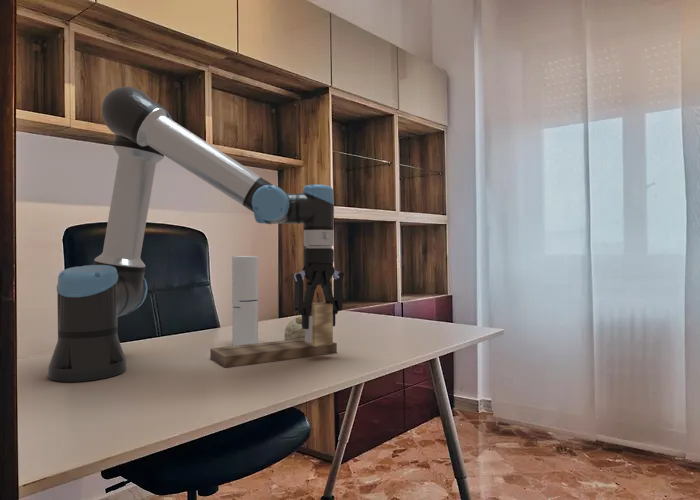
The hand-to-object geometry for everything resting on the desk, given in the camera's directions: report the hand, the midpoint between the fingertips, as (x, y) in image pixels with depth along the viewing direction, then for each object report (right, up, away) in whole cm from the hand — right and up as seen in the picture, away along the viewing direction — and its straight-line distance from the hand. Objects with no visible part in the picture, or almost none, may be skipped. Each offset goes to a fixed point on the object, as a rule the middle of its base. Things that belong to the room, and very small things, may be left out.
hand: (318, 340), depth 125 cm
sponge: (-7, -5, +20) cm, 21 cm away
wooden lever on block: (-2, -1, +4) cm, 5 cm away
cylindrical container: (-22, -4, +18) cm, 29 cm away
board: (-11, -4, +3) cm, 13 cm away
